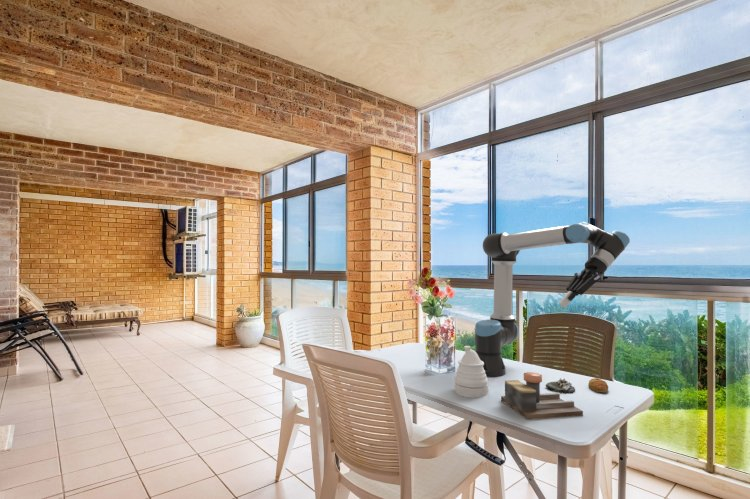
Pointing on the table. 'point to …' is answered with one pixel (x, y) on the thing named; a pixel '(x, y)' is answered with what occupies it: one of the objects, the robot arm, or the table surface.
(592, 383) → the pastry
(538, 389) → the knob
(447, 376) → the table surface
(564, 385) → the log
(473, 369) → the honey pot
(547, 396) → the brown sliding knob board
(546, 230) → the robot arm
